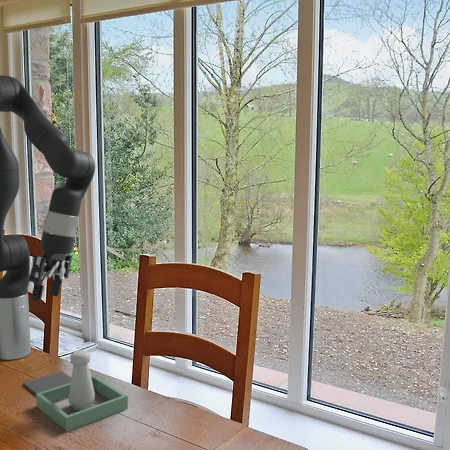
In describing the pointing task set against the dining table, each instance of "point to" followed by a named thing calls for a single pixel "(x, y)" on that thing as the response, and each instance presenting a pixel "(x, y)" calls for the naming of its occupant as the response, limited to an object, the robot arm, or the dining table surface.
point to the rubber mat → (47, 382)
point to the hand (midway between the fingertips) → (45, 297)
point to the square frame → (87, 415)
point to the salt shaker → (81, 382)
